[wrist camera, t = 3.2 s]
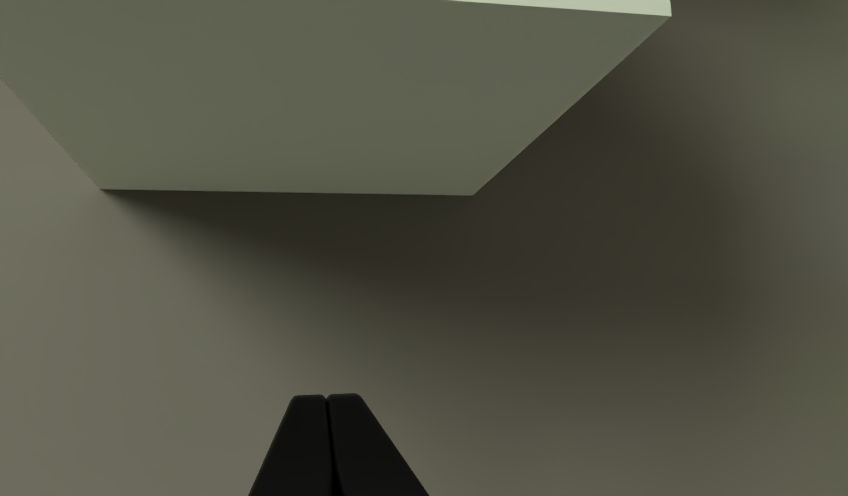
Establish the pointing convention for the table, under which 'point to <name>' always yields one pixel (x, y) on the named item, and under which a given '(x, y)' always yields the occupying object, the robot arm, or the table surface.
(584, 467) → the table surface
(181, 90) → the green block
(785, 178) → the table surface
